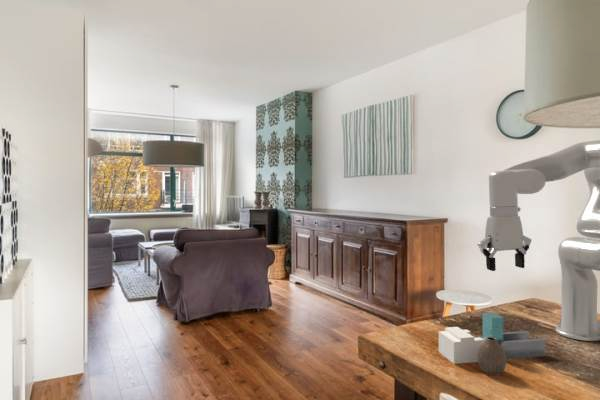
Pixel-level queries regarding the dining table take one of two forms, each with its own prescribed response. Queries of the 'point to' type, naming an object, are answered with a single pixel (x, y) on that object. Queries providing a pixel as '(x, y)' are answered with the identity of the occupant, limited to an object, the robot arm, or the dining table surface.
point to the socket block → (459, 345)
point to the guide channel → (522, 345)
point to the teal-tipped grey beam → (492, 326)
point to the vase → (491, 357)
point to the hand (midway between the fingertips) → (505, 268)
